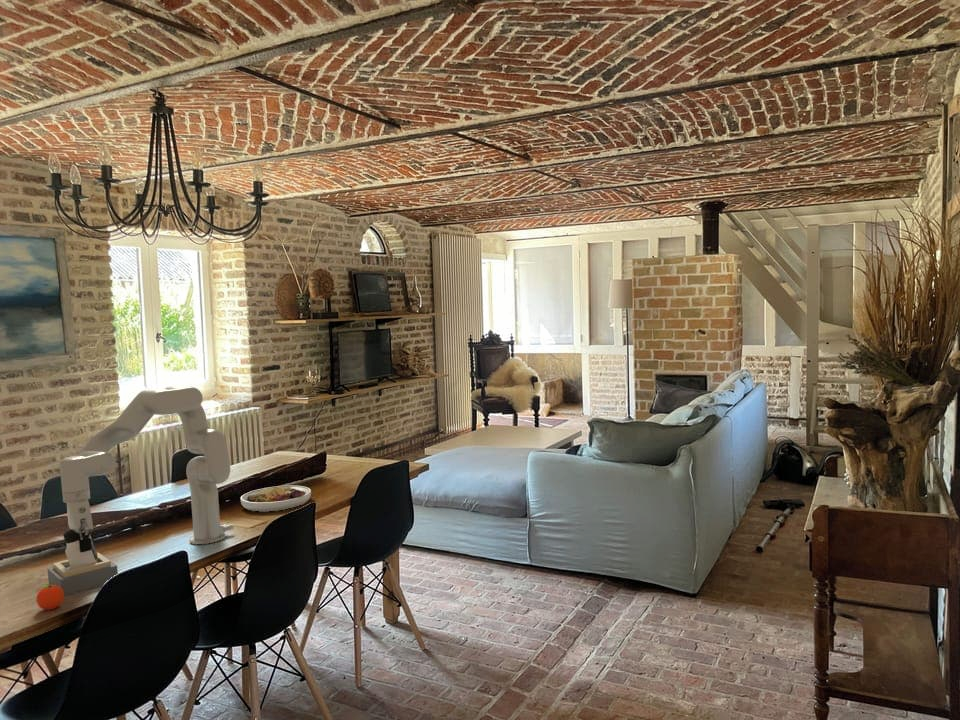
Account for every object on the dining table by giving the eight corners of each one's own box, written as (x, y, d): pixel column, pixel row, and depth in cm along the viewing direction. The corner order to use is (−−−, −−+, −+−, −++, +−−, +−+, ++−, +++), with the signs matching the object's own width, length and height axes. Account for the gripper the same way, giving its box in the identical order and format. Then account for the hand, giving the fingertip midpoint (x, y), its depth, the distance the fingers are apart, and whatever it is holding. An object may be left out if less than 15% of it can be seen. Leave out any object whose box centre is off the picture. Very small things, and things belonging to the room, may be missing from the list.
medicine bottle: (96, 562, 224) (84, 528, 222) (72, 571, 221) (59, 536, 219) (98, 556, 230) (86, 522, 228) (74, 565, 227) (61, 531, 225)
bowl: (226, 510, 306) (224, 493, 305) (275, 493, 332) (274, 477, 332) (278, 517, 292) (277, 498, 292) (325, 498, 319) (324, 481, 318)
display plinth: (103, 569, 237) (101, 550, 236) (118, 580, 225) (116, 560, 225) (48, 583, 226) (47, 563, 225) (61, 596, 214) (60, 575, 214)
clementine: (28, 613, 202) (26, 589, 202) (46, 603, 209) (44, 580, 209) (52, 614, 201) (50, 589, 200) (70, 604, 208) (68, 580, 207)
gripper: (97, 497, 220) (102, 550, 221) (81, 488, 233) (86, 539, 234) (70, 502, 215) (76, 557, 216) (56, 493, 227) (61, 545, 229)
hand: (81, 547), depth 225 cm, fingers open, 9 cm apart
